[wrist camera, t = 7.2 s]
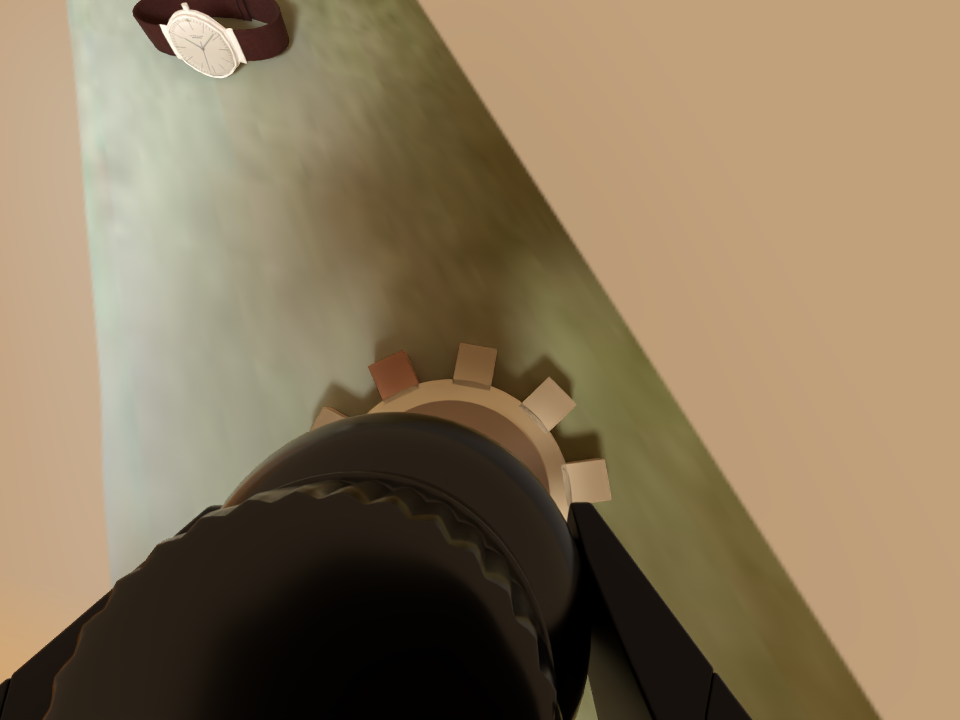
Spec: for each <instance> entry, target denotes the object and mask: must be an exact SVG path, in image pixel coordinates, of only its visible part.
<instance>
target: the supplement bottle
mask: <svg viewBox="0 0 960 720" xmlns="http://www.w3.org/2000/svg"><path fill="white" fill-rule="evenodd" d="M591 626H592V622H591V607H590V597H589V591H588V585H587V579H586V575H585V571H584V567H583V563H582V559H581V556H580V554H579V551H578V548H577V545H576V542H575V539H574V537H573V535H572V533H571V531H570V529H569V526H568V524H567V522H566V520H565V518H564V517H563V515H562V513H561V511H560V510H559V508H558V506H557V504H556V503H555V501H554V500H553V498H552V497H551V495H550V494H549V493H548V491H547V490H546V488H545V487H544V485H543V484H542V483H541V482H540V481H539V479H538V478H537V477H536V476H535V475H534V474H533V472H532V471H531V470H530V469H529V468H528V467H527V466H526V465H525V464H524V463H523V462H522V461H520V460H519V459H518V458H517V457H516V456H515V455H514V454H512V453H511V452H510V451H509V450H507V449H506V448H505V447H503V446H502V445H501V444H499V443H497V442H496V441H494V440H493V439H491V438H490V437H488V436H486V435H484V434H482V433H480V432H479V431H477V430H475V429H473V428H471V427H468V426H465V425H463V424H460V423H458V422H455V421H452V420H448V419H445V418H441V417H437V416H432V415H426V414H420V413H408V412H378V413H370V414H362V415H357V416H353V417H348V418H344V419H340V420H337V421H334V422H331V423H328V424H325V425H323V426H320V427H318V428H316V429H314V430H311V431H309V432H307V433H305V434H303V435H301V436H300V437H298V438H296V439H294V440H292V441H291V442H289V443H287V444H286V445H285V446H283V447H282V448H280V449H279V450H277V451H276V452H274V453H273V454H271V455H270V456H269V457H268V458H267V459H265V460H264V461H263V462H262V463H261V464H259V465H258V466H257V467H256V468H255V469H254V470H253V471H252V472H251V473H250V474H249V475H248V476H247V477H246V478H245V479H244V480H243V481H242V482H241V483H240V484H239V485H238V487H237V488H236V489H235V490H234V491H233V492H232V494H231V495H230V496H229V497H228V499H227V500H226V501H225V503H224V504H223V506H222V507H221V509H219V510H216V511H212V512H210V513H207V514H206V515H204V516H203V517H201V518H200V519H199V520H198V521H197V522H196V523H195V524H194V525H193V526H192V527H191V528H190V529H189V531H188V532H187V533H183V534H180V535H177V536H174V537H171V538H168V539H166V540H164V541H162V542H161V543H159V544H158V545H157V546H156V547H155V548H154V550H153V551H152V552H151V553H150V555H149V556H148V558H147V559H146V561H145V562H144V564H143V565H142V567H141V568H138V569H136V570H135V571H133V572H131V573H129V574H128V575H126V576H124V577H123V578H121V579H119V580H118V581H117V582H116V584H115V586H114V588H113V589H112V591H111V593H110V596H109V599H108V601H107V603H106V605H105V607H104V608H103V609H102V610H101V611H99V612H98V613H97V614H95V615H94V616H92V617H91V618H90V619H89V620H88V621H87V622H86V623H84V624H83V625H82V628H81V630H80V633H79V636H78V639H77V645H76V648H75V651H74V654H73V656H72V657H71V658H70V659H69V660H68V661H67V662H66V663H65V664H64V665H63V666H62V668H61V669H60V670H59V671H58V673H57V674H56V675H55V676H54V681H53V687H52V698H51V704H50V708H49V710H48V711H47V713H46V714H45V716H44V717H43V719H42V720H575V718H576V716H577V713H578V710H579V707H580V703H581V700H582V697H583V694H584V689H585V684H586V679H587V675H588V669H589V660H590V652H591Z"/></svg>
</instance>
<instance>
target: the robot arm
mask: <svg viewBox="0 0 960 720" xmlns="http://www.w3.org/2000/svg"><path fill="white" fill-rule="evenodd" d="M222 506H223V505H214V506H210V507H208V508H206V509H205V510H204V511H203V512H201V513H200V514H199V515H198V516H197V517H196V518H194V519H193V520H192V521H191V522H190V523H189V524H187V525H186V526H185V527H184V528H183V529H182V530H180V531H179V532H178V533H177V534H176V535H175V536H177V535H180V534H183V533H187V532H188V531H189V529H190V528H191V527H192V526H193V525H194V524H195V523H196V522H197V521H198V520H199V519H200V518H201V517H203V516H204V515H206V514H207V513H210V512H212V511H216V510H219V509H221V507H222ZM567 524H568V526H569V529H570V531H571V533H572V535H573V537H574V539H575V542H576V545H577V548H578V551H579V554H580V556H581V559H582V563H583V567H584V571H585V575H586V579H587V585H588V591H589V597H590V607H591V622H592V626H591V652H590V660H589V669H588V677H589V682H590V686H591V691H592V695H593V700H594V704H595V708H596V713H597V717H598V720H752V719H751V717H750V716H749V715H748V713H747V712H746V711H745V710H744V708H743V707H742V706H741V704H740V703H739V702H738V701H737V699H736V698H735V697H734V695H733V694H732V693H731V691H730V690H729V689H728V687H727V686H726V684H725V683H724V682H723V680H722V679H721V678H720V676H719V675H718V674H717V673H713V667H712V666H711V664H710V663H709V662H708V660H707V659H706V658H705V656H704V655H703V654H702V652H701V651H700V649H699V648H698V647H697V645H696V644H695V643H694V641H693V640H692V639H691V637H690V636H689V635H688V633H687V632H686V631H685V629H684V628H683V626H682V625H681V624H680V622H679V621H678V620H677V618H676V617H675V616H674V614H673V613H672V612H671V610H670V609H669V608H668V606H667V605H666V603H665V602H664V601H663V599H662V598H661V597H660V595H659V594H658V593H657V591H656V590H655V589H654V587H653V586H652V585H651V583H650V582H649V580H648V579H647V578H646V576H645V575H644V574H643V572H642V571H641V570H640V568H639V567H638V566H637V564H636V563H635V562H634V560H633V559H632V557H631V556H630V555H629V553H628V552H627V551H626V549H625V548H624V547H623V545H622V544H621V543H620V541H619V540H618V539H617V537H616V536H615V534H614V533H613V532H612V530H611V529H610V528H609V526H608V525H607V524H606V522H605V521H604V520H603V518H602V517H601V516H600V514H599V513H598V511H597V510H596V509H595V507H594V506H593V505H592V504H591V503H589V502H572V503H571V504H570V506H569V511H568V517H567ZM173 537H174V536H173ZM145 561H146V560H145ZM145 561H144V562H145ZM144 562H143V563H142V564H141V565H140V566H138V567H137V568H136V569H138V568H141V567H142V565H143V564H144ZM136 569H135V570H136ZM135 570H134V571H135ZM111 591H112V589H111V590H110V591H109V592H108V593H107V594H106V595H104V596H103V597H102V598H101V599H100V600H99V601H97V602H96V603H95V604H94V605H93V606H92V607H91V608H89V609H88V610H87V611H86V612H85V613H83V614H82V615H81V616H80V617H79V618H78V619H77V620H75V621H74V622H73V623H72V624H71V625H69V626H68V627H67V628H66V629H65V630H64V631H62V632H61V633H60V634H59V635H58V636H57V637H56V638H54V639H53V640H52V641H51V642H50V643H48V644H47V645H46V646H45V647H44V648H43V649H41V650H40V651H39V652H38V653H37V654H36V655H34V656H33V657H32V658H31V659H30V660H29V661H27V662H26V663H25V664H24V665H23V666H22V667H20V668H19V669H18V670H17V671H16V672H15V673H14V674H13V675H12V677H11V678H9V679H6V680H5V681H4V682H3V683H1V684H0V720H42V719H43V717H44V716H45V714H46V713H47V711H48V710H49V708H50V704H51V698H52V687H53V681H54V676H55V675H56V674H57V673H58V671H59V670H60V669H61V668H62V666H63V665H64V664H65V663H66V662H67V661H68V660H69V659H70V658H71V657H72V656H73V654H74V651H75V648H76V645H77V639H78V636H79V633H80V630H81V628H82V625H83V624H84V623H86V622H87V621H88V620H89V619H90V618H91V617H92V616H94V615H95V614H97V613H98V612H99V611H101V610H102V609H103V608H104V607H105V605H106V603H107V601H108V599H109V596H110V593H111Z"/></svg>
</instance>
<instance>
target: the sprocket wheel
mask: <svg viewBox="0 0 960 720" xmlns="http://www.w3.org/2000/svg"><path fill="white" fill-rule="evenodd" d="M497 350H498V349H493V348H488V347H482V346H477V345H471V344H466V343H460V346H459V351H458V356H457V361H456V366H455V371H454V377H453V379H443V380H434V381H428V382H424V383H420V382H419V380H418V377H417V375H416V373H415V371H414V369H413V366H412V364H411V362H410V360H409V358H408V356H407V354H406V353H405V352H404V351H403V350H402V351H400V352H398V353H395V354H393V355H391V356H389V357H387V358H385V359H383V360H380V361H378V362H376V363H374V364H372V365H370V366H368V368H369V370H370V372H371V374H372V377H373V379H374V381H375V383H376V386H377V388H378V390H379V393H380V395H381V397H382V399H383V401H382V402H380V403H379V404H378V405H376V406H375V407H374V408H372V409H371V410H370V411H369V412H368V413H367V414H370V413H378V412H408V413H420V414H426V415H432V416H437V417H441V418H445V419H448V420H452V421H455V422H458V423H460V424H463V425H465V426H468V427H471V428H473V429H475V430H477V431H479V432H480V433H482V434H484V435H486V436H488V437H490V438H491V439H493V440H494V441H496V442H497V443H499V444H501V445H502V446H503V447H505V448H506V449H507V450H509V451H510V452H511V453H512V454H514V455H515V456H516V457H517V458H518V459H519V460H520V461H522V462H523V463H524V464H525V465H526V466H527V467H528V468H529V469H530V470H531V471H532V472H533V474H534V475H535V476H536V477H537V478H538V479H539V481H540V482H541V483H542V484H543V485H544V487H545V488H546V490H547V491H548V493H549V494H550V495H551V497H552V498H553V500H554V501H555V503H556V504H557V506H558V508H559V510H560V511H561V513H562V515H563V517H564V518H565V520H566V522H567V517H568V511H569V506H570V504H571V503H572V502H589V503H593V502H600V501H607V500H612V498H611V493H610V487H609V481H608V475H607V470H606V464H605V459H602V458H593V459H586V460H578V461H571V462H565V460H564V458H563V456H562V453H561V451H560V448H559V446H558V445H557V443H556V441H555V439H554V438H553V436H552V434H551V433H550V430H551V429H552V428H553V427H554V426H555V425H556V424H557V423H559V422H560V421H561V420H562V419H563V418H564V417H565V416H566V415H567V414H568V413H569V412H570V411H571V410H572V409H573V408H574V407H575V406H576V405H577V404H576V403H575V402H574V401H573V400H572V399H571V398H570V397H569V396H568V395H567V394H566V393H565V392H564V391H563V390H562V389H561V388H560V387H559V386H558V385H557V384H556V383H555V382H554V381H553V380H552V379H551V378H550V377H548V378H547V379H546V380H545V381H544V382H543V383H542V384H541V385H540V386H539V387H538V388H537V389H536V390H535V391H534V392H533V393H531V394H530V395H529V396H528V397H527V398H526V399H525V400H524V401H523V402H522V403H521V402H520V401H519V400H517V399H516V398H514V397H512V396H511V395H509V394H507V393H506V392H504V391H501V390H499V389H497V388H494V387H492V386H491V383H492V378H493V372H494V367H495V361H496V356H497ZM344 418H348V417H347V416H345V415H344V414H342V413H340V412H338V411H337V410H335V409H333V408H329V407H323V409H322V410H321V412H320V414H319V415H318V417H317V419H316V420H315V422H314V424H313V425H312V427H311V429H310V431H311V430H314V429H316V428H318V427H320V426H323V425H325V424H328V423H331V422H334V421H337V420H340V419H344Z"/></svg>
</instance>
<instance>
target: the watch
mask: <svg viewBox="0 0 960 720" xmlns="http://www.w3.org/2000/svg"><path fill="white" fill-rule="evenodd" d="M133 16H134V17H135V19H136V20H137V22H138V23H139V25H140V26H141V27H142V29H143V30H144V32H145V33H146V35H147V36H148V38H149V39H150V40H151V41H152V43H153V44H154V46H155V47H156V48H157V49H158V50H159V51H161V52H163V53H166V54H168V55H172V56H177V57H178V58H179V59H183V61H184V62H185V63H187V64H188V65H190V66H191V67H192V68H194V69H195V70H197V71H199V72H201V73H203V74H205V75H207V76H210V77H216V78H224V77H227V76H229V75H231V74H232V73H233V72H234V71H235V69H236V68H237V67H238V66H239V64H240V62H242V63H246V64H247V61H257V60H264V59H269V58H272V57H275V56H277V55H279V54H281V53H282V52H284V51H285V50H286V48H287V47H288V44H289V37H288V34H287V31H286V27H285V24H284V21H283V18H282V15H281V12H280V7H279V6H278V4H277V3H276V2H275V0H141V1H139V2H138V3H137V4H136V5H135V6H134V9H133ZM211 17H224V18H237V19H242V20H247V21H252V19H255V20H258V21H261V22H264V23H268V24H267V25H265V26H262V27H258V28H254V29H247V30H233V29H232V28H228V29H225V27H223V26H222V25H221V24H219V23H218V22H217V21H215V20H214V19H212V18H211ZM251 18H252V19H251Z"/></svg>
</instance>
